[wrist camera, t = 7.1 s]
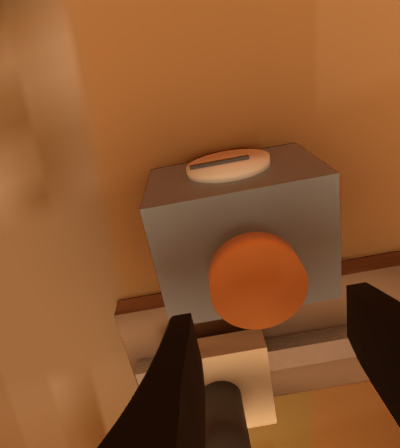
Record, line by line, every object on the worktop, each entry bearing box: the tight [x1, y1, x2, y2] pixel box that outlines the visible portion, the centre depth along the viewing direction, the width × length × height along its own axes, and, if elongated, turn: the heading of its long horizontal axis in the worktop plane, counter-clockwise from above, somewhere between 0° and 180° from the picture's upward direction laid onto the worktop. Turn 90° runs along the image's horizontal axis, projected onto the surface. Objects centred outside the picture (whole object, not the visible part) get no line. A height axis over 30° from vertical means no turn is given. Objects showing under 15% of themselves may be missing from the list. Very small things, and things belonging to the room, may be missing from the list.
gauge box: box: [140, 143, 342, 324], centre depth 18 cm, size 6×8×6 cm
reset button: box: [208, 232, 308, 330], centre depth 14 cm, size 4×4×2 cm
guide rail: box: [135, 324, 356, 385], centre depth 23 cm, size 2×21×1 cm, turn 100°
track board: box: [114, 251, 400, 397], centre depth 24 cm, size 9×22×2 cm, turn 100°
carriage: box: [197, 329, 277, 448], centre depth 20 cm, size 6×6×8 cm
